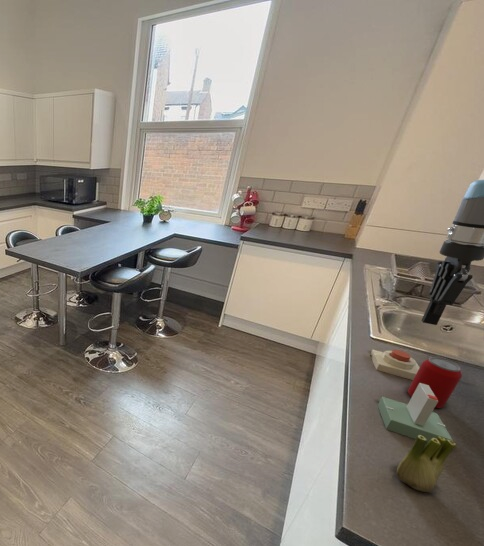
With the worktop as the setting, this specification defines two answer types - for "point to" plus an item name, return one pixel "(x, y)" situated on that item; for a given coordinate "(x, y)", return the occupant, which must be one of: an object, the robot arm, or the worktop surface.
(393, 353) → the button
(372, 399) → the worktop surface
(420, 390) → the handle
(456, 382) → the beverage can
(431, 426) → the plate
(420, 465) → the fennel bulb
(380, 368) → the button box
